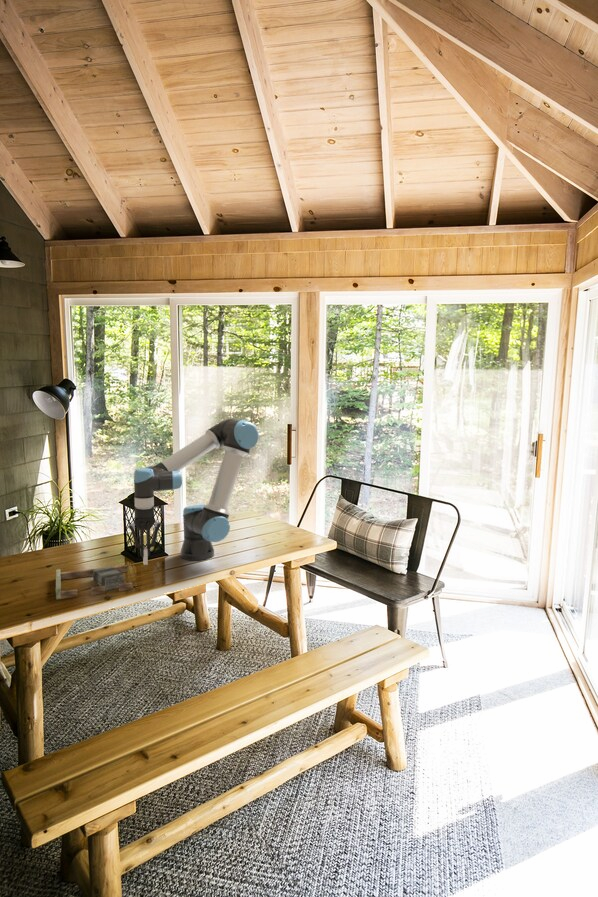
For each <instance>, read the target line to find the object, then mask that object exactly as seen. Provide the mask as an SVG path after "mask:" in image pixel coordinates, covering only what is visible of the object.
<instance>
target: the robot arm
mask: <svg viewBox="0 0 598 897" xmlns="http://www.w3.org/2000/svg"><path fill="white" fill-rule="evenodd" d="M259 435H260V434H259V430H258V428H257V427H256V425H255V424H253V423H252V422H250V421H247V420H242V419H235V418H228V419H225V420H222V421H220V422H219V423H216V424H215V425H213V426H211V427H210V428H208V429H207V430H206V431H205V433H204V434H203V435H201V436H200V437H198V438H197V439H195V440H193V441H192V442H190V443H189V444H187V445H186V446H184V447H183V448H181V449H179V450H178V451H175V452H174V453H173V454H171V455H169V456H168V457H166V458H165V459H163V460H161V461H160V462H158V463H157V464H154V465H148V466H146V467H143V468H137V469H135V470H134V474H133V484H134V485H133V486H134V487H133V488H134V489H133V490H134V491H133V492H134V520H133V522H132V523H130V524H128V526H127V527H128V529H129V530H130V531H131V534H132V537H133V541H134V545H135V547H136V549H139V551H140V553H139V554H140V557H142V560H143V562H142V563H143V564H142V565H143V566H147V565H149V562H148V561H149V559H148V558H149V556H151V548H154V547H155V546H156V541H157V537H158V533H159V529H160V527H161V526H162V524H161V522H159V521H156V518H155V507H154V506H155V499H154V498H155V493H154V492H161V491H171V490H177V489H178V490H179V489H180V488H181V487H182V485H183V476H182V474H181V472H180V471H181V470H182V469H184V468H186V467H187V466H189V465H190V464H192V463H193V462H195V461H197V460H198V459H200V458H202V457H203V456H204V455H206V454H208V453H209V452H211V451H212V450H214V449H216V450H218V449H220V448H222V447H223V450H224V454H223V457H222V460H221V463H220V467H219V470H218V473H217V475H216V479H215V483H214V486H213V488H212V490H211V495H210V496H209V500H208V503H207V504H196V505H193V504H192V505H187V506H185V507H184V508H183V512H182V516H183V517H182V520H183V542H182V546H181V548H180V558H181V557H182V558H181V559H183V558H184V559H183V560H186V559H188V560H187V561H205V560H208V559H211V558H213V557H214V556H215V548H214V545H213V543H218V542H222V540H225V538H226V537H227V536H228V534H229V532H230V529H231V524H230V521H229V516H230V512H229V509H228V508H229V506H230V502H231V499H232V496H233V492H234V489H235V485H236V483H237V481H238V477H239V474H240V471H241V468H242V465H243V461H244V458H245V457H246V456H248V455H249V454H250V451H251V449H253V448H254V447H255V446H256V445H257V443H258V441H259V437H260V436H259ZM135 526H136V527H137V529H138V530H139V541H138V537H137V534H136V531H135V528H136V527H135ZM153 526H154V529H153V534H152V537H151V529H152V527H153ZM145 531H146V532H145ZM144 532H145V533H146V538H145V536H144V534H145V533H144ZM144 538H145V540H146V542H145V540H144ZM145 543H146V546H145V547H144V545H145Z"/></svg>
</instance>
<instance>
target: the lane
mask: <svg viewBox="0 0 598 897" xmlns="http://www.w3.org/2000/svg"><path fill="white" fill-rule="evenodd" d="M106 567H107V566H106ZM106 567H104V568H106ZM112 567H113V568H115V569H116V570H117V571H119V572H120V573H122V574H123V573H128V565H127V564H124V565H115V566H112ZM101 568H102V567H97V568H89V569H79V570H72V571H64V572H63V571H62V572H61V569H60V568H58V569H56V570H55V599H56V600H64V599H70V598H71V599H72V598H78V597H79V596H78V589H67V590H62V589H61V588H62V584H61V583H62V580H71V579H77V578H78V577H80V578H86V576H88V577H93V570H95V569H101ZM78 579H79V578H78ZM118 585H119V588H118V591H119V592H125V591H132V590H133V582H132V581H130V582H125V583H122V584H118ZM90 591H91V595H92V596H94V595H101V594H106V591H105V586H100V585H98V586H92V587H91V588H90Z"/></svg>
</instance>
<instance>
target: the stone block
mask: <svg viewBox="0 0 598 897" xmlns="http://www.w3.org/2000/svg"><path fill="white" fill-rule="evenodd" d="M113 567H114V566H106V568H105V567H100V568H101V569H96V568H94V569H95V570H93V576H92V579H93V581H94V582H95V583H96V584H98V586H105V592H106V591H111V590H115V589H116V590H117V589H119V585H118V584H122V583H126V581H125V575H124V574H123V572H122V573H120V572H119V571H117V570H116V569H115V568H113Z"/></svg>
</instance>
